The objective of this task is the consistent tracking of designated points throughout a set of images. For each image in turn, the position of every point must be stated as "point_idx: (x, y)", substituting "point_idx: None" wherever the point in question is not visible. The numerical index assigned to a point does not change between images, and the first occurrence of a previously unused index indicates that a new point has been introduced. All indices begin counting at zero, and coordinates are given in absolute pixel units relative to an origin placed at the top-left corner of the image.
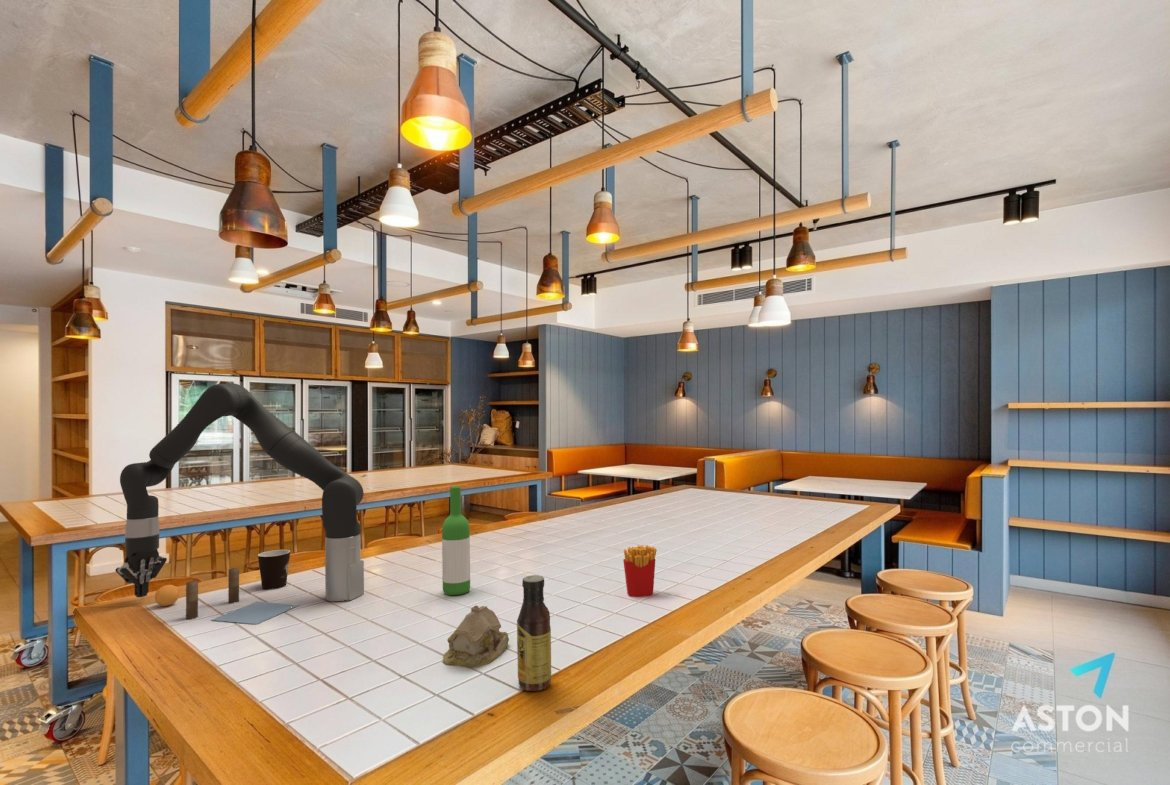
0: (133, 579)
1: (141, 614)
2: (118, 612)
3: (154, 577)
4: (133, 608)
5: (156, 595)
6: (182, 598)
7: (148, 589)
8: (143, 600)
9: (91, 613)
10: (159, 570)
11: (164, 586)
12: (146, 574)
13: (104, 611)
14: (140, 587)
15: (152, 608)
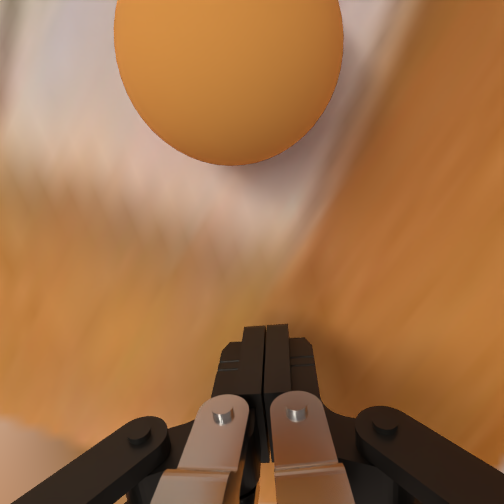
0: (421, 449)
1: (467, 36)
2: (454, 278)
3: (146, 419)
4: (362, 266)
5: (339, 59)
6: (78, 140)
7: (221, 359)
8: None
9: (497, 420)
10: (49, 484)
11: (255, 28)
12: (237, 472)
13: (451, 386)
14: (296, 380)
15: (326, 116)
